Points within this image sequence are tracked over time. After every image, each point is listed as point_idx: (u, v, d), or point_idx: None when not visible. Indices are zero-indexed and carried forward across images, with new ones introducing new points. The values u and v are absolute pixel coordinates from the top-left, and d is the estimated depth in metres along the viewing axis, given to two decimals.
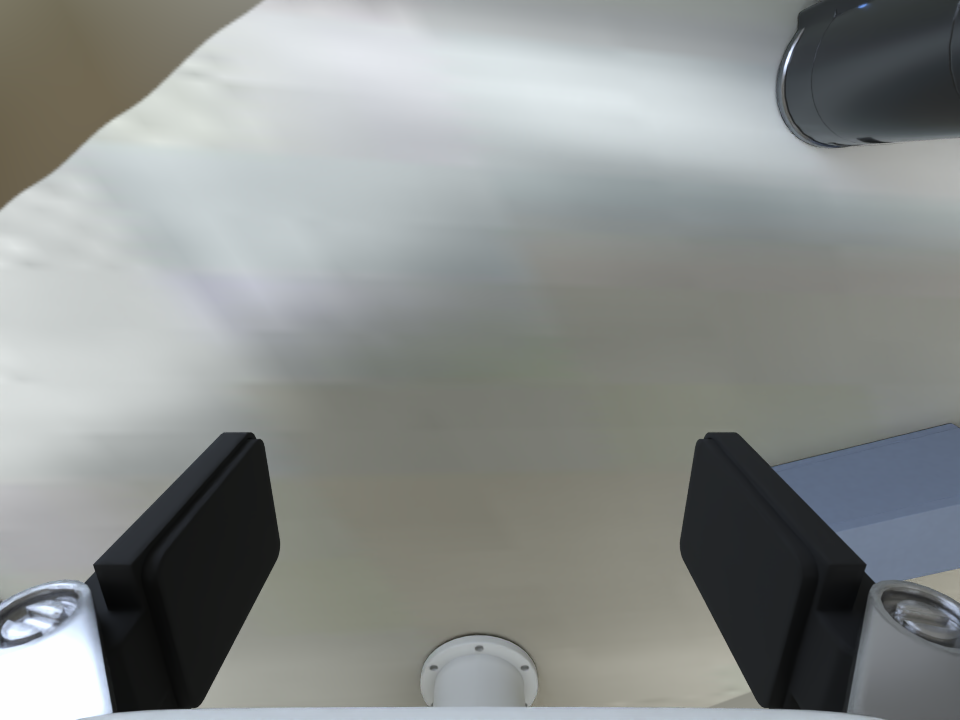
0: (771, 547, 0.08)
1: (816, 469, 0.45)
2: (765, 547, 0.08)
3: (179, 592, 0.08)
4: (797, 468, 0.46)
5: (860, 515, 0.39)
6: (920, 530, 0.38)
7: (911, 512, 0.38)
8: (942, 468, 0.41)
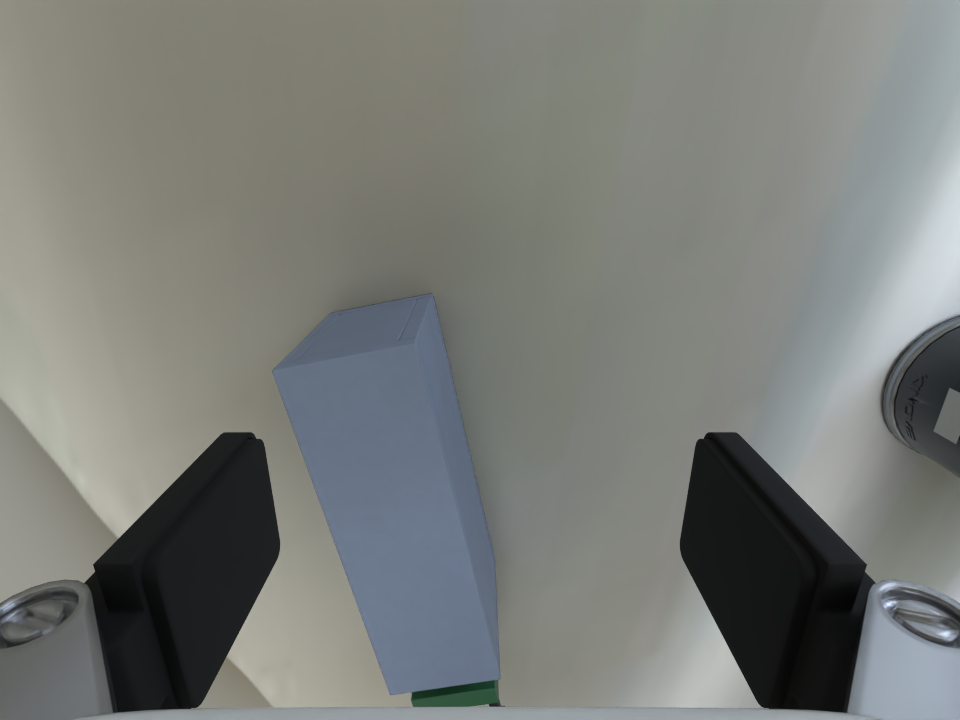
0: (771, 547, 0.08)
1: (456, 412, 0.30)
2: (765, 547, 0.08)
3: (179, 592, 0.08)
4: (452, 389, 0.31)
5: (449, 462, 0.24)
6: (431, 543, 0.25)
7: (462, 527, 0.25)
8: (482, 557, 0.30)
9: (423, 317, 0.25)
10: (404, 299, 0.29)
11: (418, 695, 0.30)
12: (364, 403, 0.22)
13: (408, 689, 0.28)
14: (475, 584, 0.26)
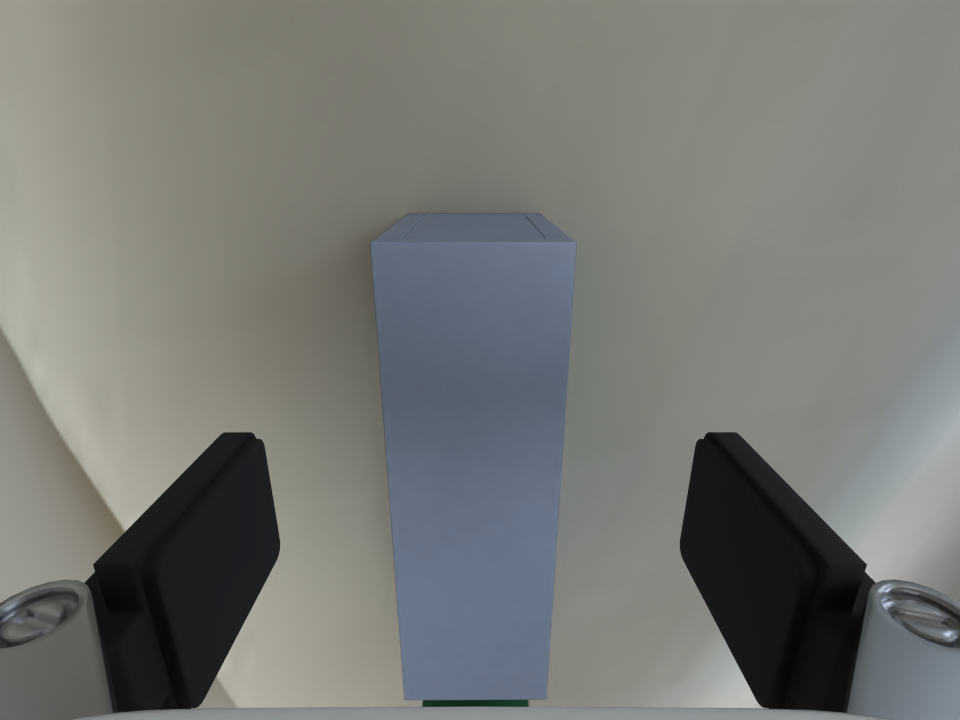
0: (771, 547, 0.08)
1: None
2: (765, 547, 0.08)
3: (179, 592, 0.08)
4: None
5: None
6: (514, 518, 0.19)
7: None
8: None
9: None
10: (506, 214, 0.24)
11: (431, 703, 0.24)
12: (483, 314, 0.16)
13: (429, 696, 0.22)
14: (553, 579, 0.20)
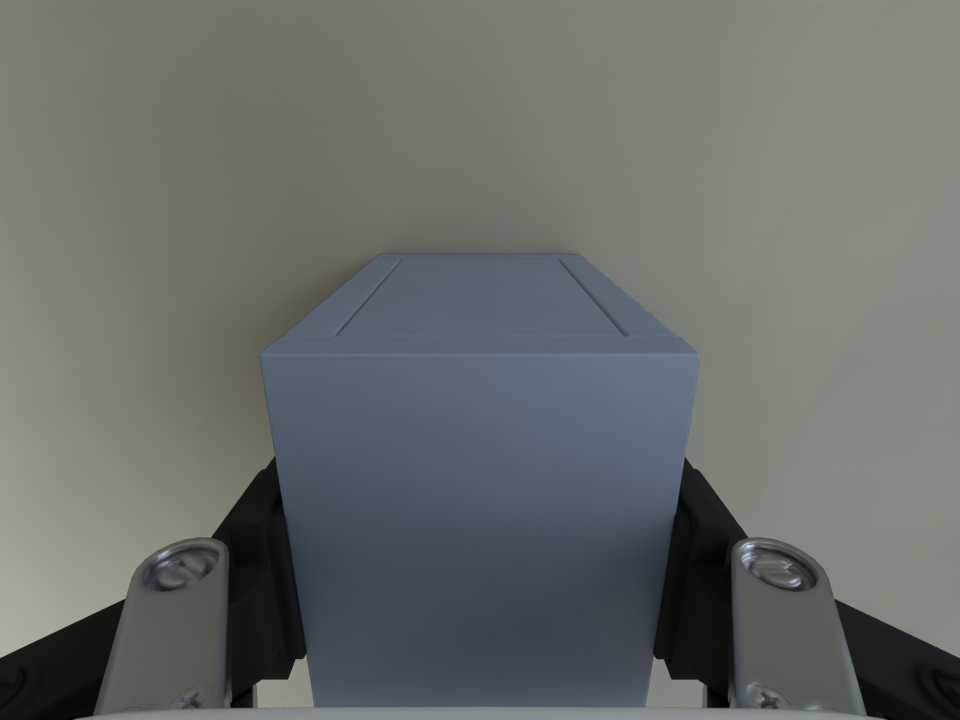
0: None
1: None
2: None
3: None
4: None
5: None
6: None
7: None
8: None
9: (623, 291, 0.11)
10: (528, 255, 0.15)
11: None
12: (500, 490, 0.08)
13: None
14: None
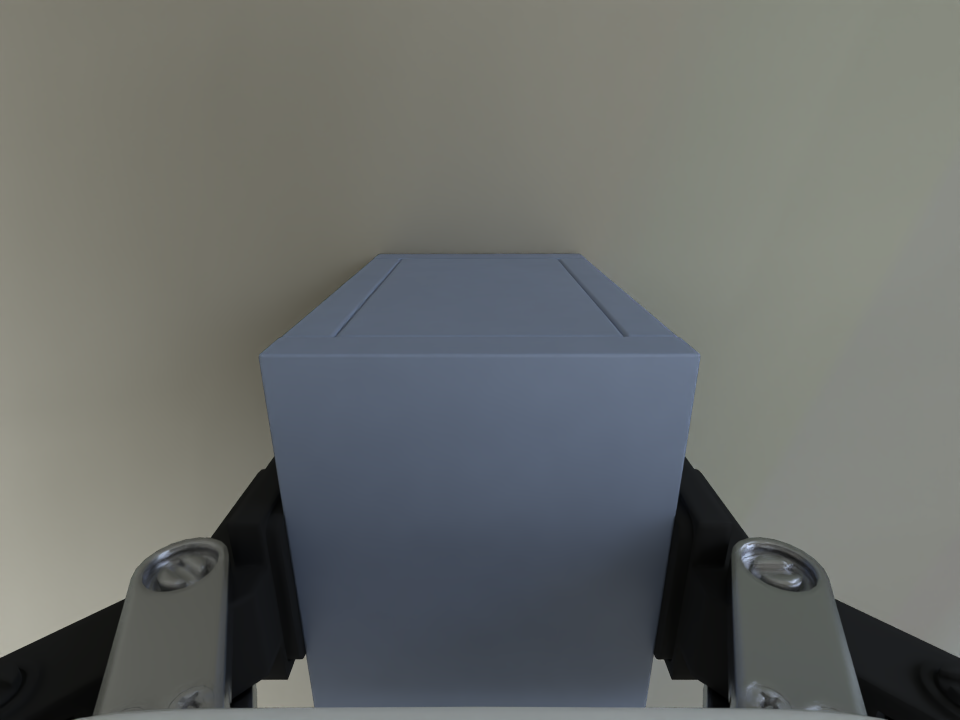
0: None
1: None
2: None
3: None
4: None
5: None
6: None
7: None
8: None
9: (623, 291, 0.11)
10: (527, 255, 0.15)
11: None
12: (500, 491, 0.08)
13: None
14: None
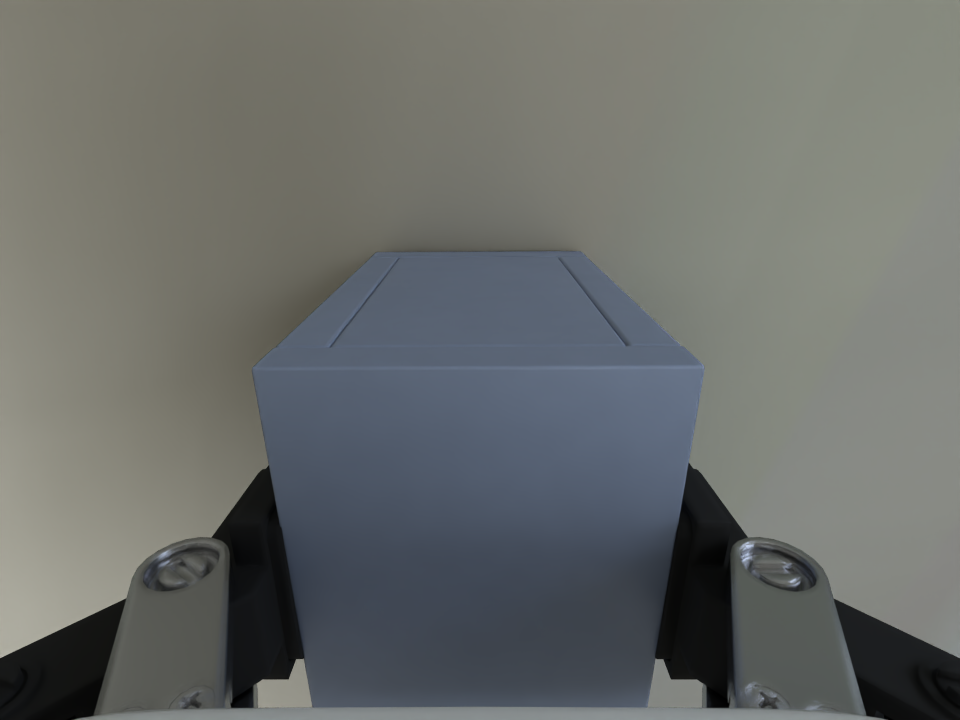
0: None
1: None
2: None
3: None
4: None
5: None
6: None
7: None
8: None
9: (625, 294, 0.11)
10: (527, 252, 0.15)
11: None
12: (500, 503, 0.08)
13: None
14: None
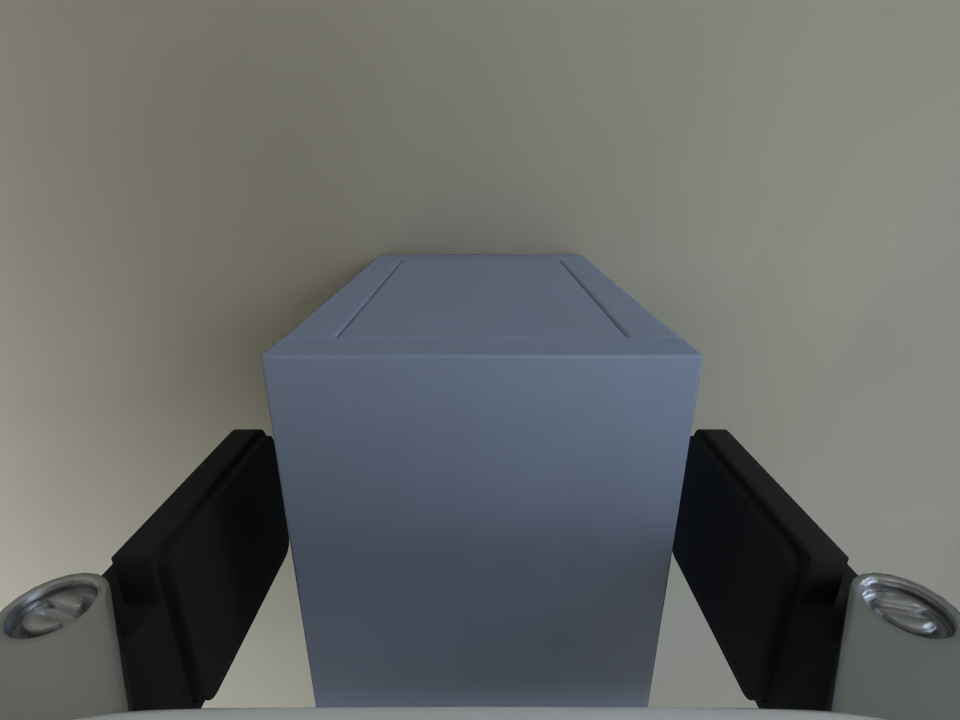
0: (756, 541, 0.08)
1: None
2: (751, 541, 0.08)
3: (194, 586, 0.08)
4: None
5: None
6: None
7: None
8: None
9: (625, 292, 0.11)
10: (528, 256, 0.15)
11: None
12: (502, 492, 0.08)
13: None
14: None
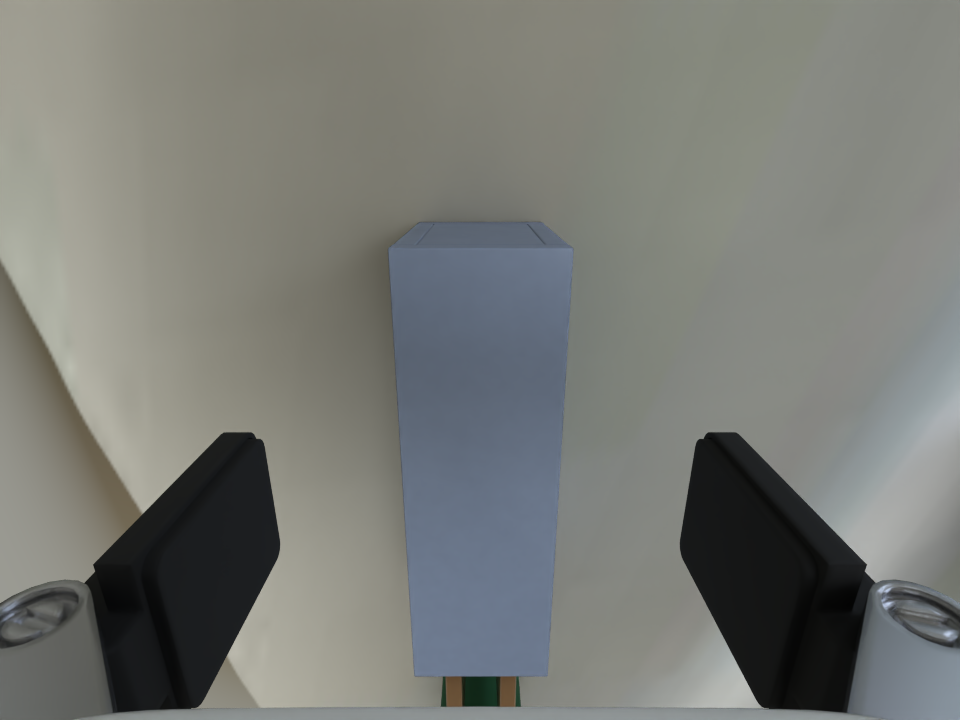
0: (771, 547, 0.08)
1: None
2: (765, 547, 0.08)
3: (179, 592, 0.08)
4: None
5: None
6: (517, 502, 0.21)
7: None
8: None
9: (555, 234, 0.21)
10: (509, 222, 0.25)
11: None
12: (490, 313, 0.18)
13: (438, 672, 0.24)
14: (553, 560, 0.22)
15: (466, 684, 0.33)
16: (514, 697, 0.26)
